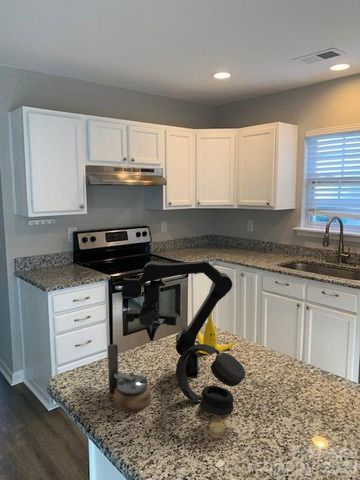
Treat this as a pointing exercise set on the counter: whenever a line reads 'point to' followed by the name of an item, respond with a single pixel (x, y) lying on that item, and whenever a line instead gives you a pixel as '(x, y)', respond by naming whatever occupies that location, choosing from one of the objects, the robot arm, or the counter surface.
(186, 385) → the headphones
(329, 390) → the counter surface
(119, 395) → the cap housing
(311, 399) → the counter surface
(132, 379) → the lugged disk with column
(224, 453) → the counter surface
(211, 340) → the banana peel
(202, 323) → the robot arm
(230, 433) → the counter surface
